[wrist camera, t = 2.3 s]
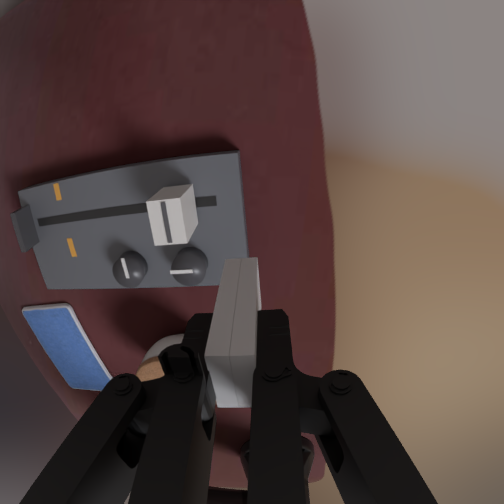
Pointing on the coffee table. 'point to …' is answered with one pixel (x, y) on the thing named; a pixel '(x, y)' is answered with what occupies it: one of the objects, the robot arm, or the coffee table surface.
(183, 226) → the fader tab
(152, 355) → the lidded jar
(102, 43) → the coffee table surface
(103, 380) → the tablet computer
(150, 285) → the console
